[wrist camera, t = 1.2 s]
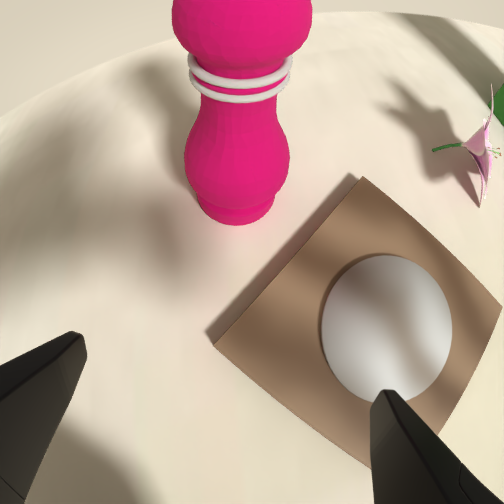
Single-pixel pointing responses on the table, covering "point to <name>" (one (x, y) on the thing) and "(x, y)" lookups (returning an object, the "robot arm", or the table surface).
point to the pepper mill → (239, 99)
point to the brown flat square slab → (365, 323)
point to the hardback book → (498, 105)
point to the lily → (480, 150)
